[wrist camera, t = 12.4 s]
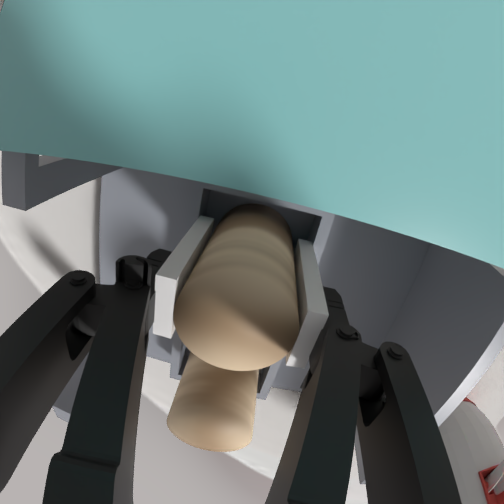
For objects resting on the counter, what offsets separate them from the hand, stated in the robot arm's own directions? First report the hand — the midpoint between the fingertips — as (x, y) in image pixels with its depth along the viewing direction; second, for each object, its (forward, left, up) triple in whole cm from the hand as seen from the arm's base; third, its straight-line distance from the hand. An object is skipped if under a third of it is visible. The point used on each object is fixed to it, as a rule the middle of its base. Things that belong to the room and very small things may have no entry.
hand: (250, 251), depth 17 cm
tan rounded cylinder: (0, 0, -2) cm, 2 cm away
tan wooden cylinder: (0, -8, -2) cm, 8 cm away
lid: (+1, +13, +7) cm, 15 cm away
